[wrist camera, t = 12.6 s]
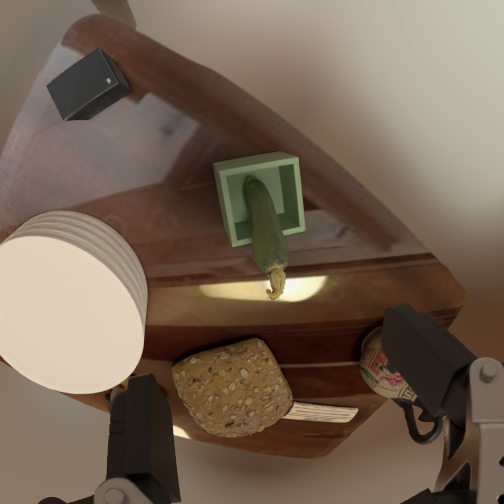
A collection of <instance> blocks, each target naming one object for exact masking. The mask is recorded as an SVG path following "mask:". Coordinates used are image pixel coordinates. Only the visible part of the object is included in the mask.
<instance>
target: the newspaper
mask: <svg viewBox="0 0 504 504" xmlns="http://www.w3.org/2000/svg"><path fill="white" fill-rule="evenodd" d="M357 411H358V408H347V407H335V406H325V405H316V404H307V403H299V402H292V403H291V407H289V408H288V410H287V412H286V413H284V416H283V417H281V418H288V419H298V420H311V421H326V422H348V421H350V420H351V419H352V418H353V417H354V416H355V414H356V413H357Z"/></svg>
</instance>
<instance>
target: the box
mask: <svg viewBox="0 0 504 504" xmlns="http://www.w3.org/2000/svg"><path fill="white" fill-rule="evenodd" d="M46 87H47V89H48V91H49V93H50V95H51V97H52V99H53V101H54V103H55V105H56V107H57V109H58V111H59V113H60V115H61V117H62V119H63V120H64V121H69V120H88V119H90V118H91V117H93V116H94V115H96V114H97V113H99V112H100V111H102V110H103V109H105V108H106V107H108V106H109V105H111V104H113V103H114V102H116V101H117V100H119V99H120V98H122V97H124V96H125V95H127V94H129V93H130V92H131V89H130V88H129V86H128V84H127V82H126V80H125V78H124V76H123V75H122V73H121V71H120V69H119V67H118V65H117V63H116V62H115V61H114V60H113V59H112V58H111V57H110V56H108V55H107V54H106V53H105V52H104V51H103V50H101V49H100V48H98V49H96V50H94V51H93V52H91V53H90V54H88V55H87V56H85V57H84V58H83V59H81V60H80V61H78V62H77V63H75V64H74V65H72V66H71V67H70V68H68V69H67V70H65V71H64V72H63V73H61V74H60V75H59V76H57V77H56V78H55V79H53V80H52V81H51V82H49V83H48V84H47V85H46Z"/></svg>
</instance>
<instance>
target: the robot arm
mask: <svg viewBox="0 0 504 504" xmlns="http://www.w3.org/2000/svg"><path fill="white" fill-rule="evenodd" d="M381 348H382V351H383V353H384V355H385V357H386V358H387V359H388V360H389V362H390V363H391V364H392V365H393V367H394V368H395V369H396V370H397V372H398V373H399V374H400V375H401V377H402V378H403V379H404V380H405V382H406V383H407V384H408V385H409V387H410V388H411V389H412V390H413V392H414V393H415V394H416V395H417V397H418V398H419V399H420V401H421V402H422V403H423V404H424V406H425V407H426V408H427V409H428V411H429V412H430V413H431V415H432V416H433V417H436V416H437V415H439V414H441V413H442V412H445V413H446V414H447V417H446V421H445V438H444V451H443V461H442V467H441V470H440V473H439V475H438V478H437V480H436V484H435V489H434V492H433V493H431V491H430V490H429V489H428V488H427V489H425V490H424V491H422V492H420V493H419V494H417V495H415V496H413V497H411V498H410V499H408V500H406V501H404V502H402V503H401V504H504V362H503V363H499V362H498V361H497V360H495V359H492V358H487V357H483V358H479V359H478V358H477V357H476V356H475V355H474V354H472V353H471V352H470V351H469V350H468V349H467V348H466V347H465V346H464V345H463V344H462V343H461V342H460V341H459V340H458V339H457V338H456V337H455V336H454V335H452V334H450V333H449V331H448V330H447V329H446V328H445V327H442V324H441V323H439V322H438V321H437V320H436V319H435V318H434V317H433V316H431V315H429V314H426V313H424V312H422V311H418V312H417V311H416V310H415V309H414V308H413V307H412V306H411V305H409V304H408V303H406V302H403V303H400V304H398V305H395V306H392V307H390V308H387V309H386V310H385V312H384V320H383V328H382V336H381ZM110 422H111V424H110V427H109V433H110V435H109V441H108V456H107V475H106V480H105V481H104V482H103V483H101V484H100V485H99V487H98V488H97V490H96V491H95V494H94V495H92V496H90V497H87V498H84V499H81V500H78V501H75V502H71V503H66V502H64V501H63V500H61V499H59V498H55V497H48V498H45V499H43V500H42V501H40V502H39V503H38V504H171V503H176V502H181V497H180V490H179V482H178V475H177V465H176V456H175V446H174V435H173V423H172V415H171V410H170V407H169V404H168V402H167V400H166V398H165V396H164V394H163V392H162V391H161V389H160V387H159V385H158V383H157V381H156V379H155V377H154V375H153V374H152V373H149V374H143V375H138V376H132V377H129V379H128V388H127V394H120V395H118V396H117V398H116V400H115V402H114V404H113V405H112V407H111V416H110Z"/></svg>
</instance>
